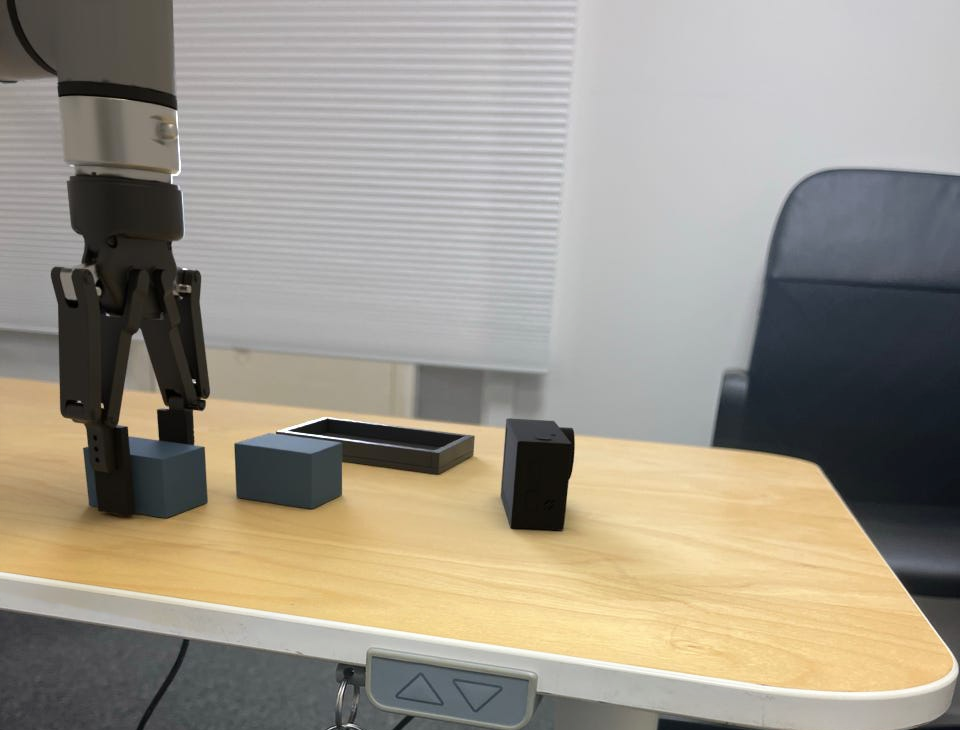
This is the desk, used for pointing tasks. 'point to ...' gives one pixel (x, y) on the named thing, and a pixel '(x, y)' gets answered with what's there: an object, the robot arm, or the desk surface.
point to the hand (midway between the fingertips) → (149, 500)
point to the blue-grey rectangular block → (288, 470)
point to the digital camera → (536, 473)
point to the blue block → (161, 477)
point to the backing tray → (389, 444)
